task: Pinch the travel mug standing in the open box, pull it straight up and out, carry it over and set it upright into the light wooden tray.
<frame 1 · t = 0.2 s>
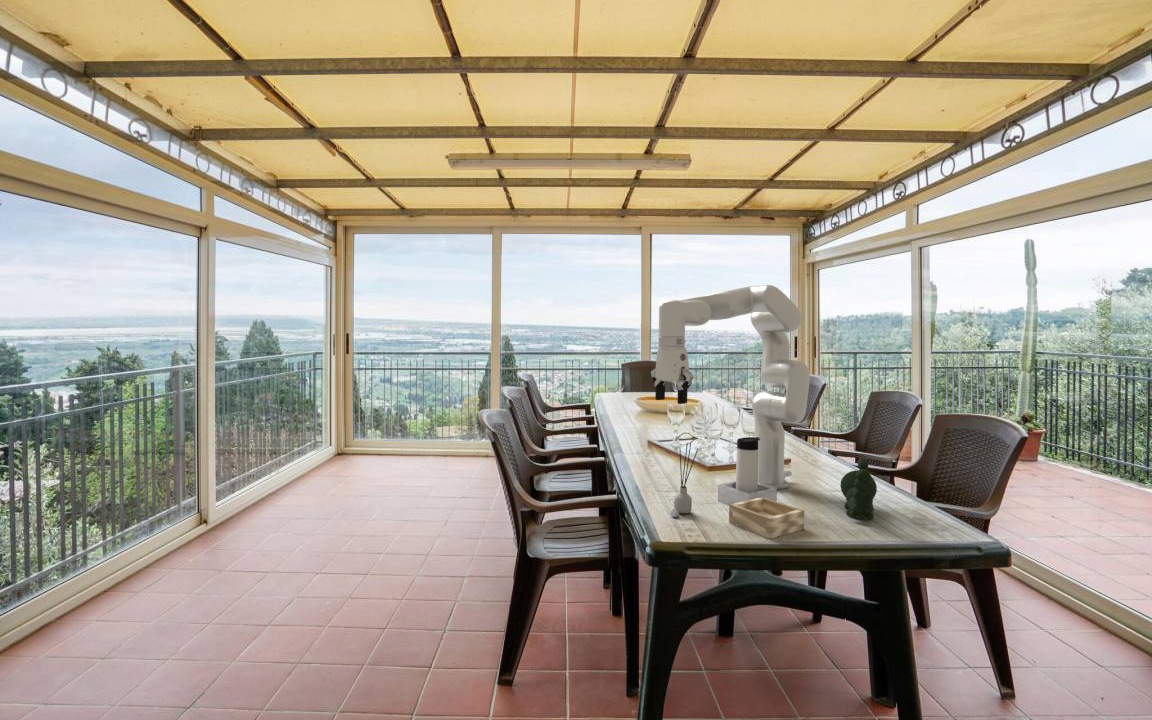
hand: (670, 401, 160), 31 cm above the table, tool pointing down, fingers open, 9 cm apart
reed diffuser: (685, 514, 154), on the table
open box: (746, 502, 165), on the table
travel mug: (746, 503, 165), resting in open box
toy figurine: (858, 514, 156), on the table
light wooden tray: (765, 525, 145), on the table
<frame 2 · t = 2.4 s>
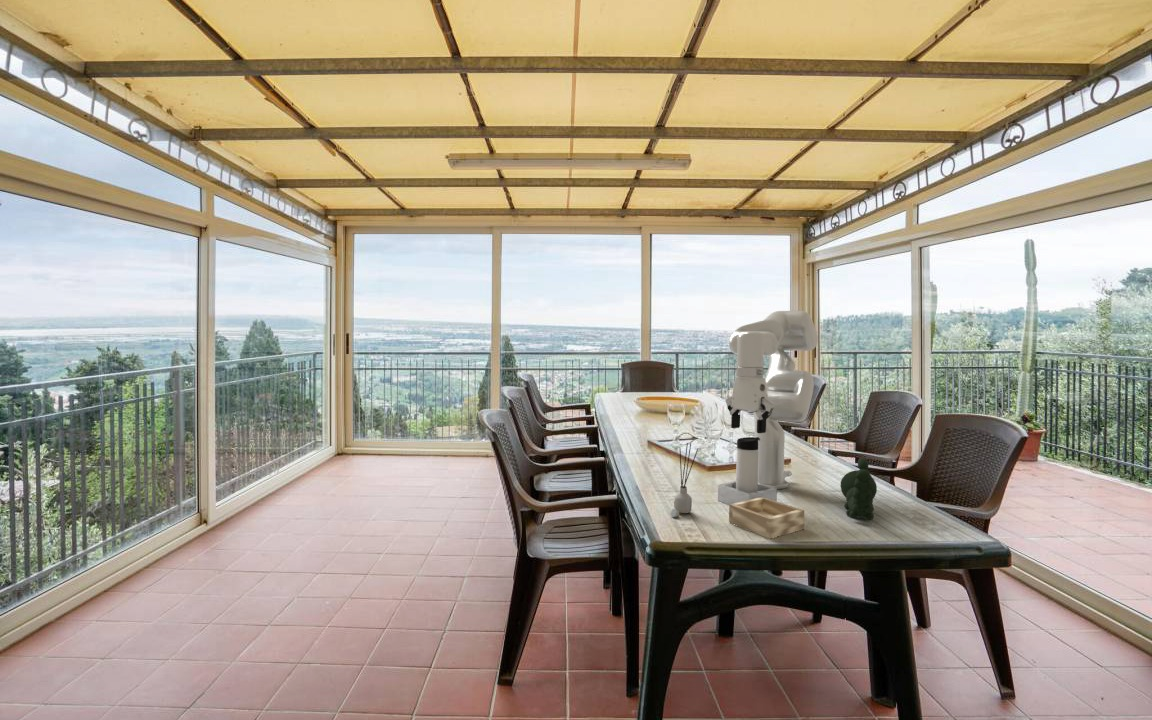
hand: (748, 430, 163), 22 cm above the table, tool pointing down, fingers open, 9 cm apart
nothing on the table moved.
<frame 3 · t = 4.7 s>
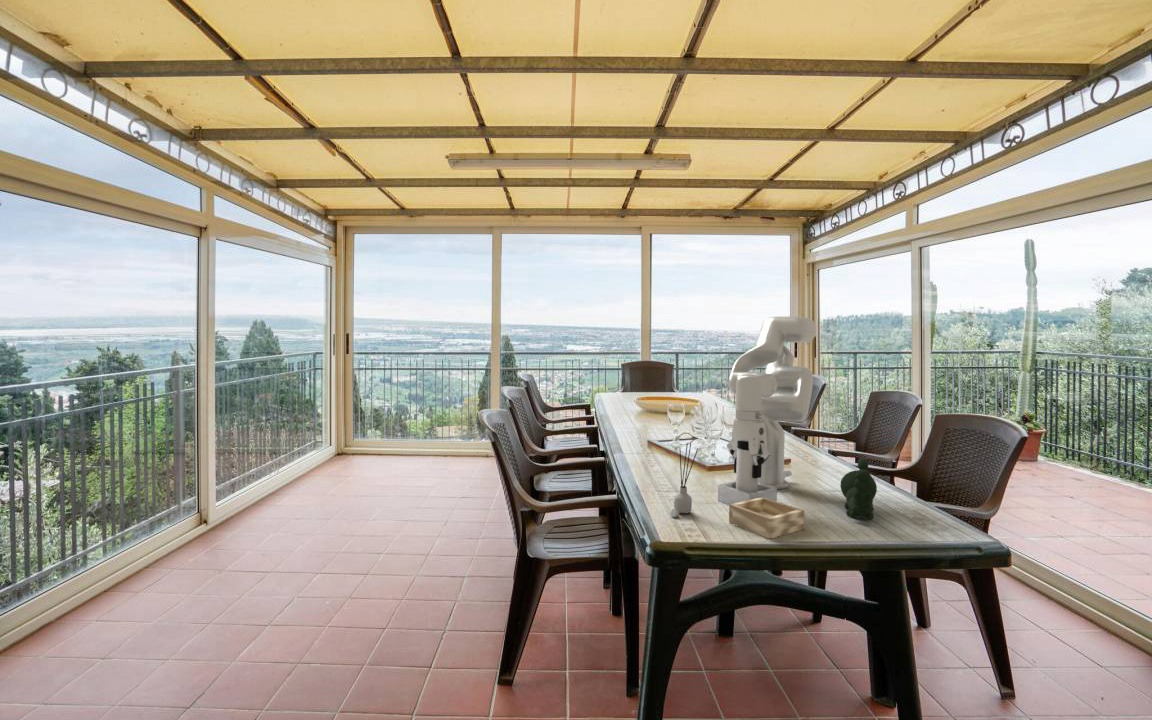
hand: (747, 474, 164), 9 cm above the table, tool pointing down, fingers closed on travel mug, 6 cm apart
travel mug: (746, 503, 165), resting in open box, touching gripper
everything else where it was.
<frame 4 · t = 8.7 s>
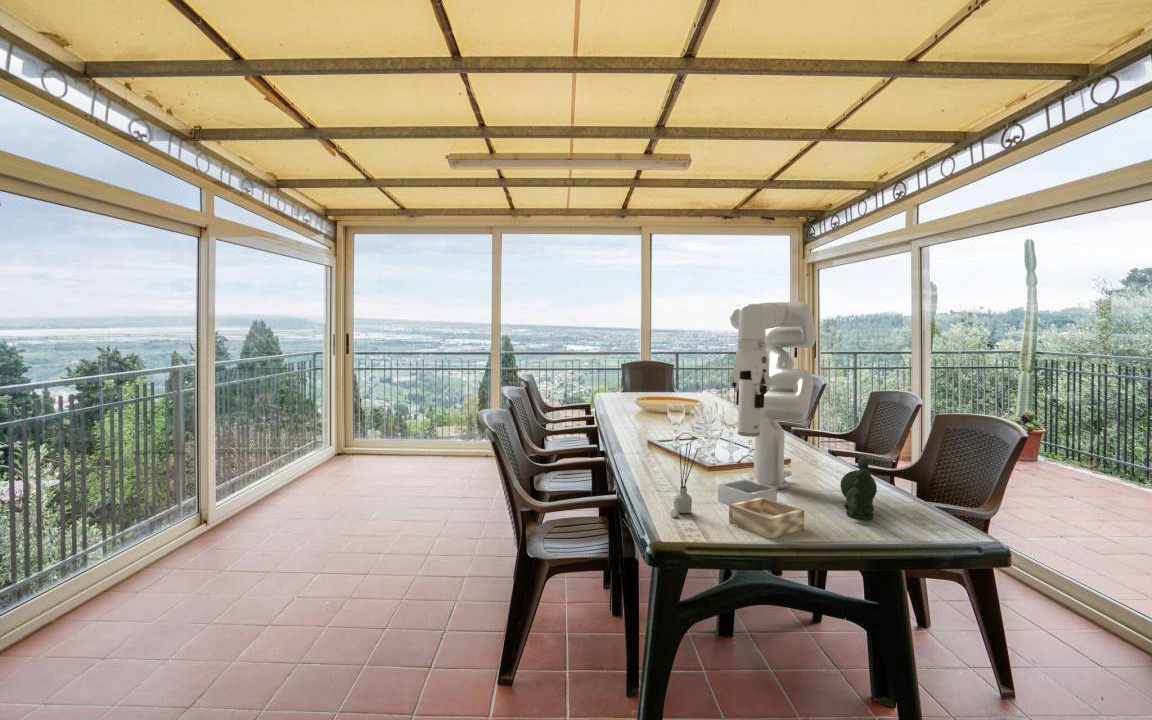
hand: (749, 405, 162), 30 cm above the table, tool pointing down, fingers closed on travel mug, 6 cm apart
travel mug: (749, 435, 162), point 21 cm above the table, touching gripper
everything else where it was.
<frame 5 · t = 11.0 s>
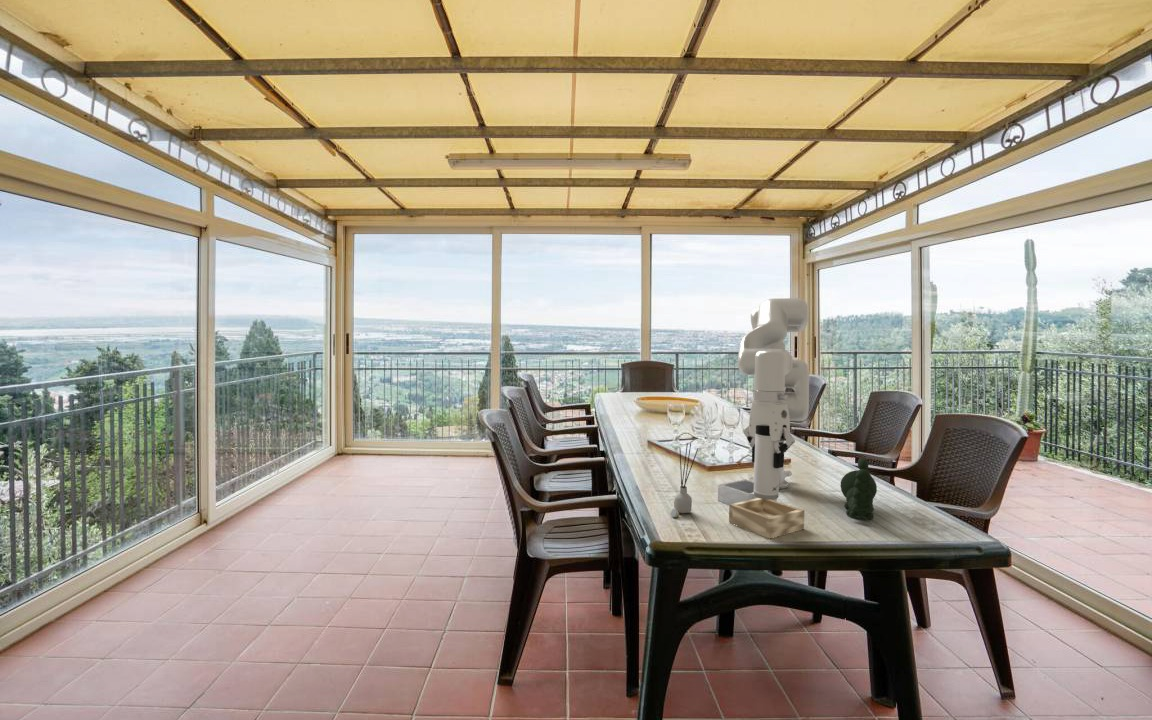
hand: (767, 464, 144), 17 cm above the table, tool pointing down, fingers closed on travel mug, 6 cm apart
travel mug: (766, 497, 145), point 8 cm above the table, touching gripper
everything else where it was.
when the fingers open (11 cm above the table, at t = 13.0 s): travel mug drops 1 cm, resting on light wooden tray.
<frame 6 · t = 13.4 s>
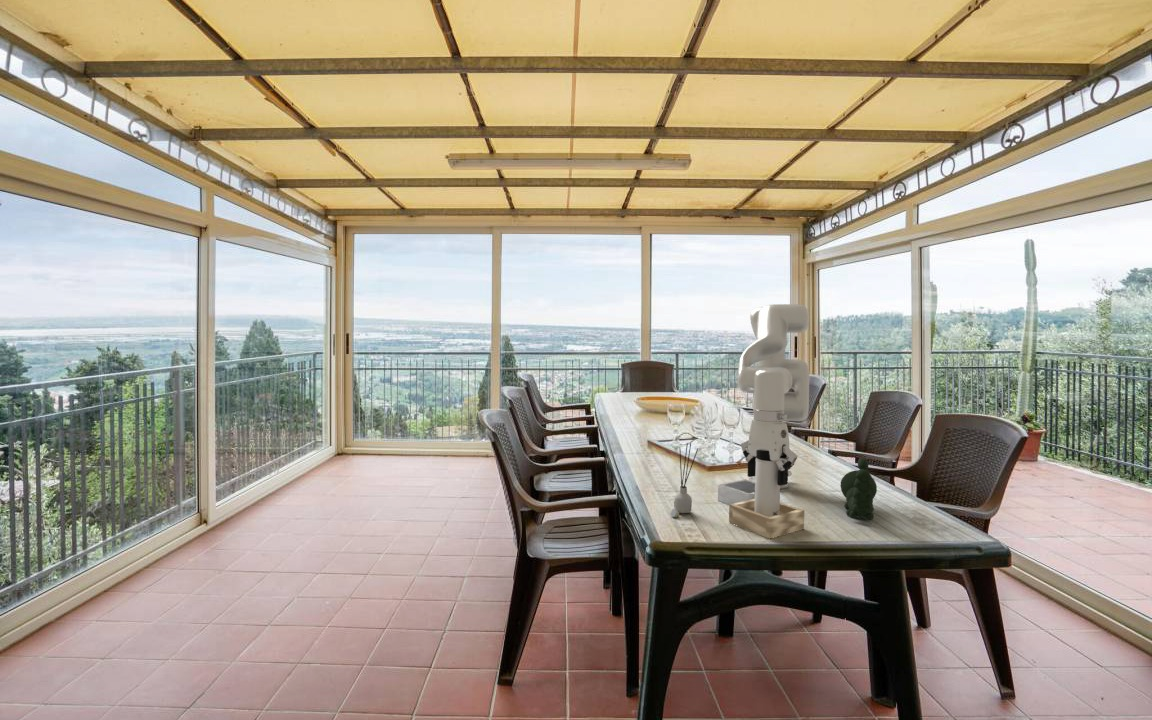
hand: (767, 480, 145), 12 cm above the table, tool pointing down, fingers open, 9 cm apart
travel mug: (767, 521, 145), point 1 cm above the table, touching light wooden tray
everything else where it was.
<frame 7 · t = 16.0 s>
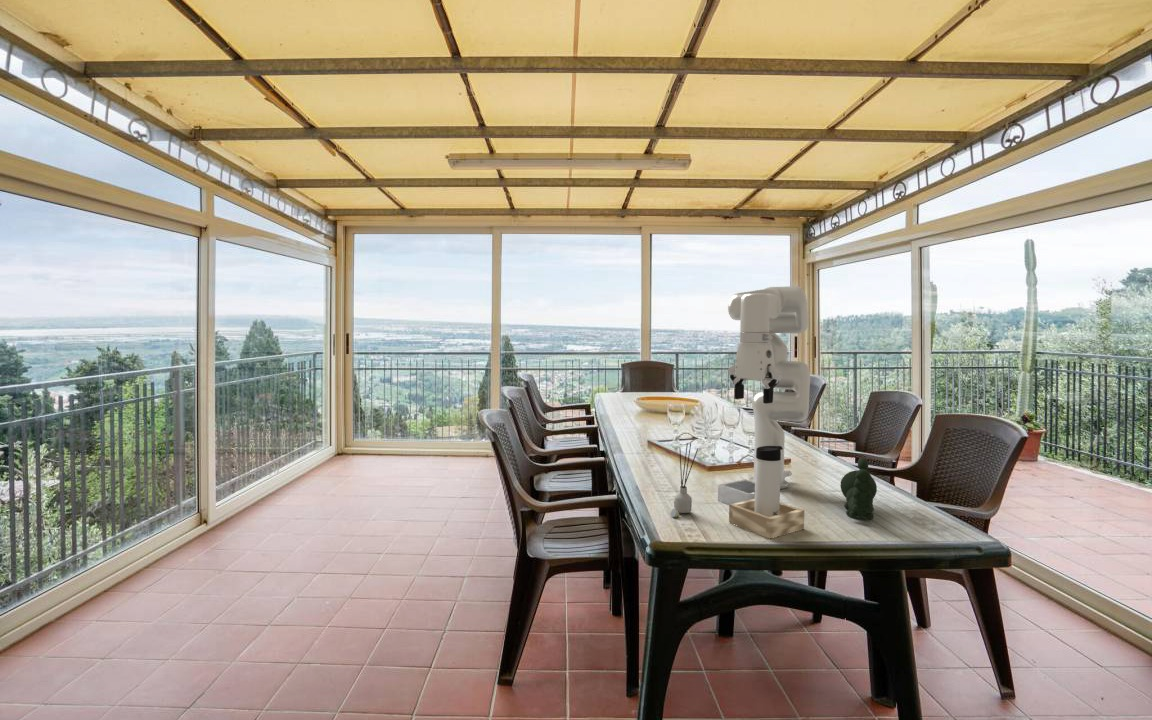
hand: (753, 400, 150), 33 cm above the table, tool pointing down, fingers open, 9 cm apart
nothing on the table moved.
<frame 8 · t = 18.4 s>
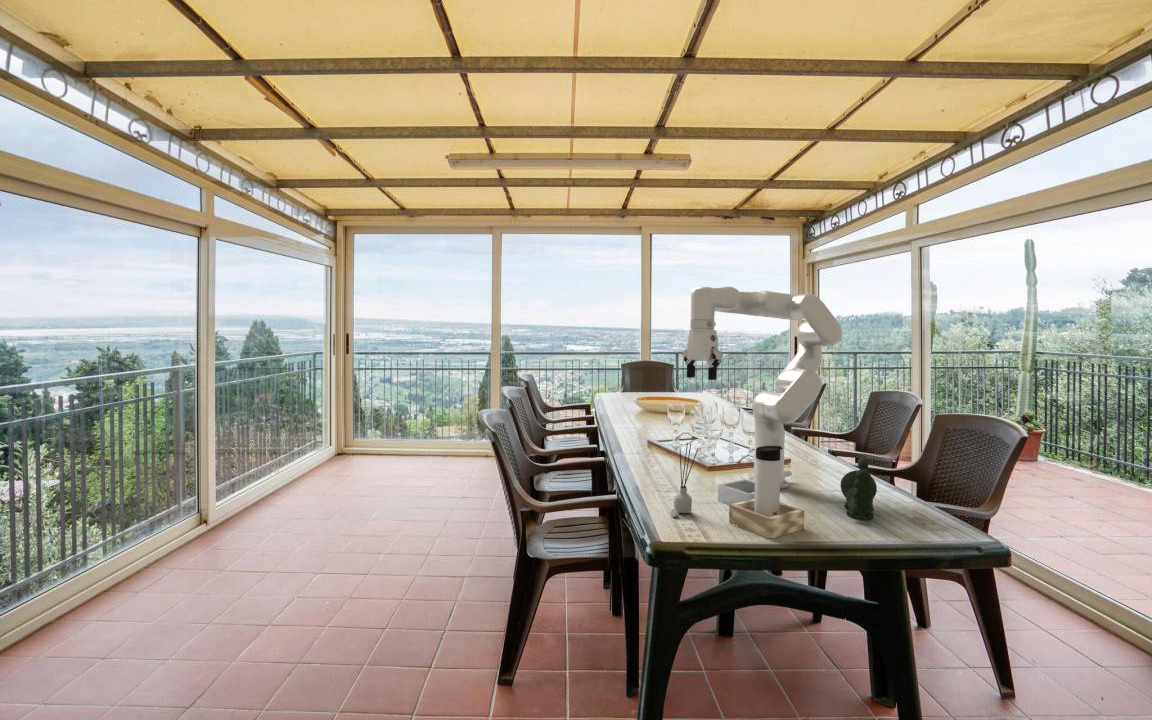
hand: (701, 378, 177), 36 cm above the table, tool pointing down, fingers open, 9 cm apart
nothing on the table moved.
at the end: travel mug 0.3 cm off-centre on the light wooden tray, point 1.3 cm above the light wooden tray's base; travel mug tilted 0°; the gripper is holding nothing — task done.
